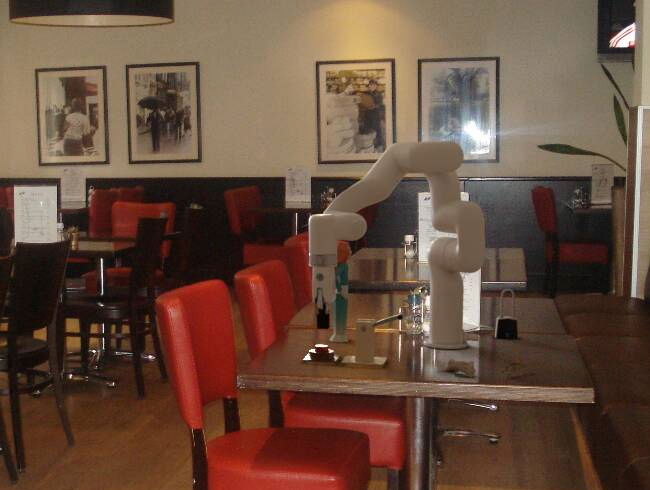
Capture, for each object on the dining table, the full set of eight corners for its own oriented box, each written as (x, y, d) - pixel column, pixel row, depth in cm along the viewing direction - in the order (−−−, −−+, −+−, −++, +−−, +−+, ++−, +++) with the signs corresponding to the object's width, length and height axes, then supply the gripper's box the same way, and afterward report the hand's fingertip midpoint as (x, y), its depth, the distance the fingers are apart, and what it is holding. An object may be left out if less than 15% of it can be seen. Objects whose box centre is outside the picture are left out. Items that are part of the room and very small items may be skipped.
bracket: (387, 362, 281) (387, 318, 279) (383, 368, 272) (383, 324, 271) (346, 359, 284) (347, 316, 283) (341, 366, 275) (341, 322, 274)
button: (329, 351, 282) (329, 344, 282) (327, 353, 279) (327, 347, 278) (316, 350, 283) (316, 344, 283) (313, 353, 280) (314, 346, 279)
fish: (504, 380, 258) (505, 360, 258) (499, 379, 260) (499, 359, 259) (534, 374, 265) (535, 354, 265) (528, 373, 266) (529, 353, 266)
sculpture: (349, 344, 306) (350, 242, 303) (326, 343, 307) (327, 242, 304) (352, 336, 318) (353, 238, 315) (330, 336, 320) (331, 238, 317)
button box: (340, 359, 284) (340, 349, 283) (335, 365, 276) (336, 354, 276) (308, 358, 286) (308, 347, 286) (302, 363, 278) (302, 352, 278)
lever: (406, 317, 276) (403, 309, 276) (404, 320, 271) (401, 312, 271) (362, 331, 280) (359, 322, 280) (360, 334, 275) (357, 325, 275)
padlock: (517, 336, 318) (518, 288, 317) (518, 339, 314) (520, 289, 312) (494, 336, 319) (495, 287, 318) (495, 338, 315) (497, 289, 314)
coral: (437, 370, 270) (438, 353, 269) (478, 374, 265) (478, 357, 264) (431, 374, 265) (431, 357, 264) (472, 378, 260) (472, 361, 259)
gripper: (332, 264, 270) (332, 334, 272) (341, 257, 285) (341, 324, 286) (303, 263, 272) (304, 332, 274) (314, 257, 287) (314, 323, 289)
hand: (323, 328), depth 280 cm, fingers closed
